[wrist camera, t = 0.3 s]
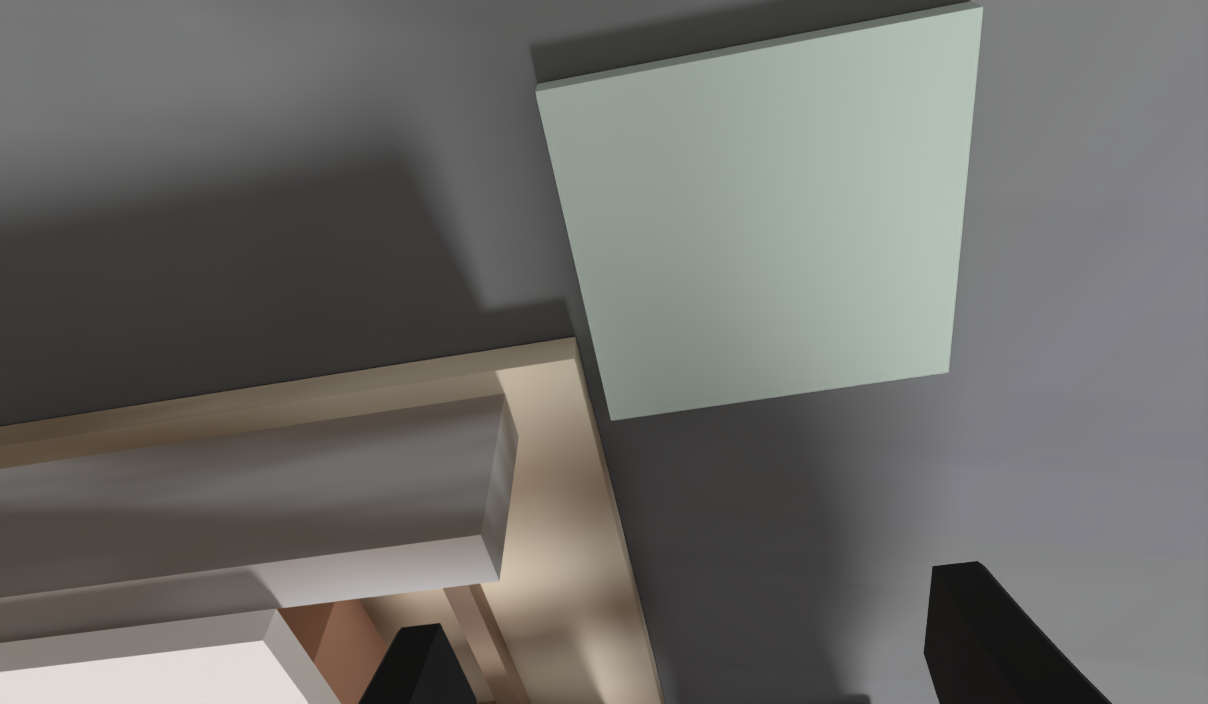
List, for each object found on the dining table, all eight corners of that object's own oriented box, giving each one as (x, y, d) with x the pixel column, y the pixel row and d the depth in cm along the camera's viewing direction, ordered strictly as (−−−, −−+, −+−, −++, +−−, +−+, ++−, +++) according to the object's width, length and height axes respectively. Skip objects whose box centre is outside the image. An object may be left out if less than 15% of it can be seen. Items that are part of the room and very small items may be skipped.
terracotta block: (392, 657, 26) (358, 793, 22) (270, 671, 27) (217, 807, 23) (344, 573, 24) (296, 711, 20) (210, 590, 24) (139, 728, 20)
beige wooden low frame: (666, 709, 30) (679, 876, 25) (153, 763, 32) (75, 926, 27) (575, 336, 20) (567, 496, 15) (-164, 452, 22) (-376, 623, 17)
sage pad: (939, 359, 20) (948, 372, 20) (610, 407, 21) (610, 420, 21) (970, 1, 15) (983, 6, 15) (537, 83, 16) (535, 91, 16)
